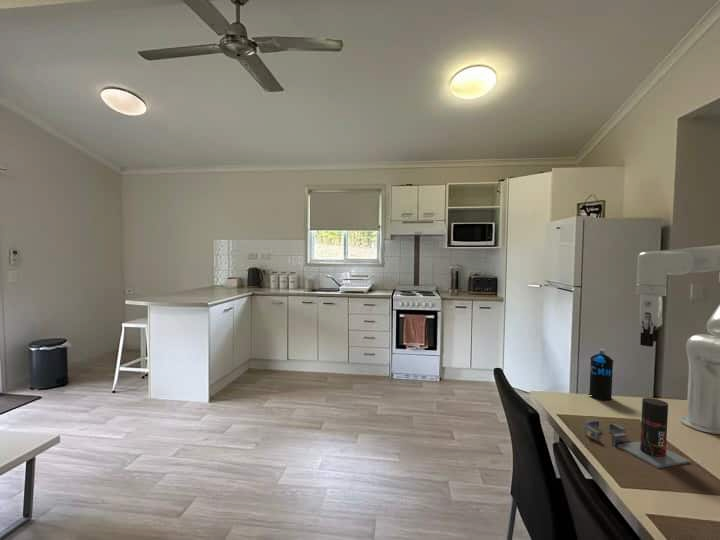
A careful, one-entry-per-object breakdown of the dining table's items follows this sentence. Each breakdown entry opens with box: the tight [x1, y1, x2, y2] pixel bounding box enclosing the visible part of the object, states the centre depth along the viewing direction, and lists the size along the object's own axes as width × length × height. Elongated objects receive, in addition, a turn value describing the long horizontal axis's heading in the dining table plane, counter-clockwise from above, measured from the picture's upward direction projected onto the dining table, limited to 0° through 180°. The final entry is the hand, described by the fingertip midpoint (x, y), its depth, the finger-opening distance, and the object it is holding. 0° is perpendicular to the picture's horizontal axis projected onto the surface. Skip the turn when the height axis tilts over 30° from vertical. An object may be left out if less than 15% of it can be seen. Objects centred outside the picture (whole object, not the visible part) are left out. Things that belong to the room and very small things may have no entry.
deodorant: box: [640, 397, 669, 458], centre depth 110 cm, size 6×6×15 cm
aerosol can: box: [588, 348, 615, 402], centre depth 155 cm, size 8×8×20 cm
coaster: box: [616, 441, 691, 469], centre depth 110 cm, size 12×12×1 cm
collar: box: [584, 419, 628, 447], centre depth 120 cm, size 13×11×3 cm
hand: (649, 343), depth 121 cm, fingers open, 9 cm apart
